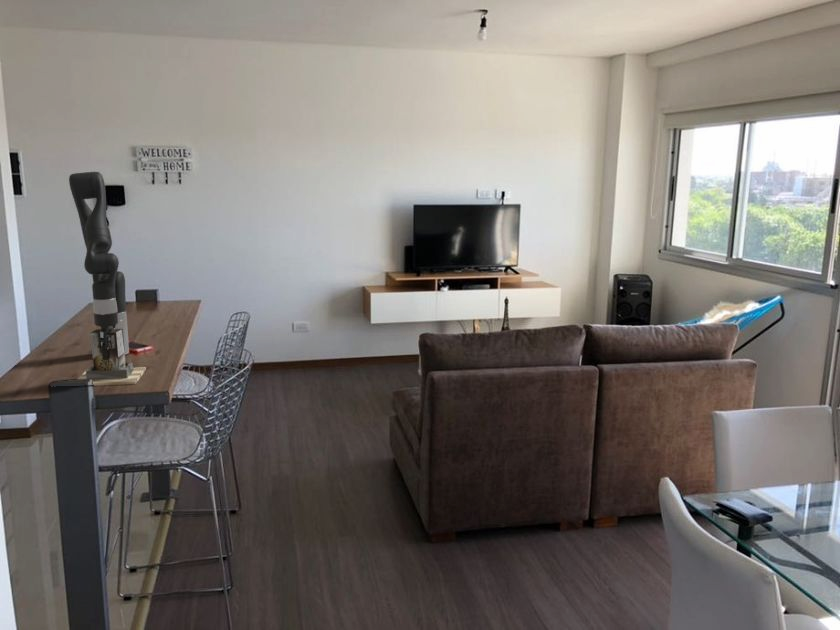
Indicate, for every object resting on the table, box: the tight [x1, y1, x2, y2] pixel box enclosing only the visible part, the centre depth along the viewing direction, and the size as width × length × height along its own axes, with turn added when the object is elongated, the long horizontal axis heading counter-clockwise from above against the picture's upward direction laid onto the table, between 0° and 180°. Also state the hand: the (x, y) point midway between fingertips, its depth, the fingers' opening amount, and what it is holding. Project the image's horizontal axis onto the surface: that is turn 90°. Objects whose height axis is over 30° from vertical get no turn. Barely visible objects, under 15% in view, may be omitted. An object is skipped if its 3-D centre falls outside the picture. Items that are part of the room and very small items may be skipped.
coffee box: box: [89, 328, 127, 370], centre depth 235 cm, size 9×6×16 cm
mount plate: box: [77, 362, 147, 387], centre depth 236 cm, size 18×20×4 cm
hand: (109, 356), depth 235 cm, fingers open, 7 cm apart
